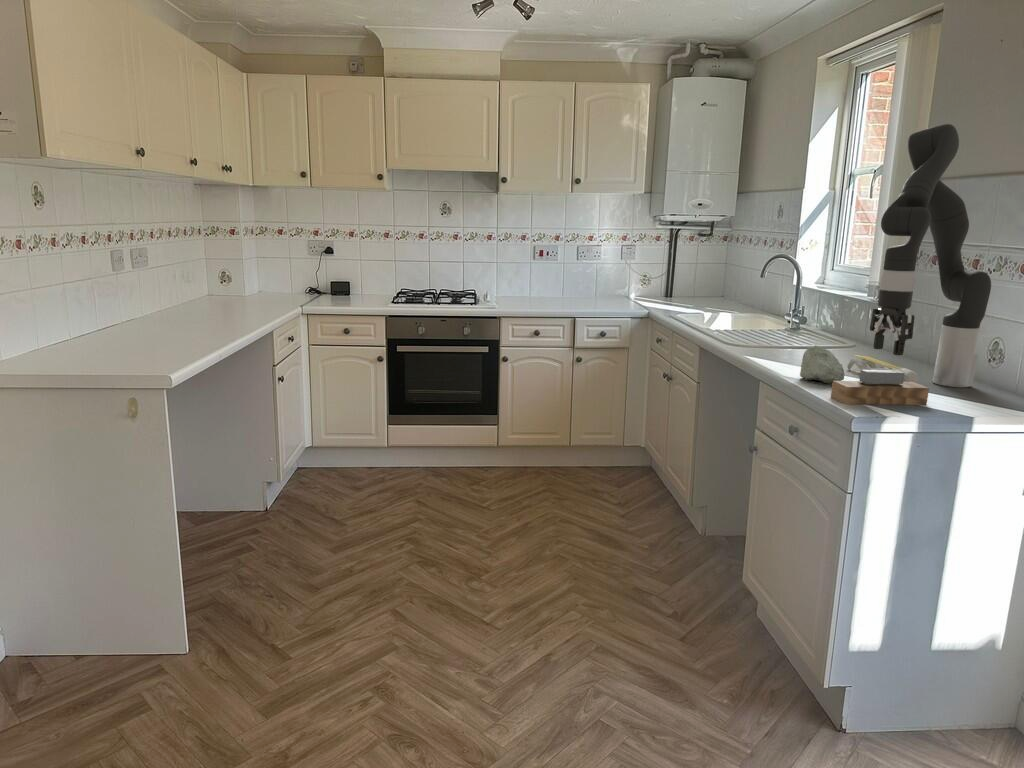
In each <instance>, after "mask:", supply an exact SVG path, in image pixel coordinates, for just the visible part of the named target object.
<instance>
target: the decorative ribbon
mask: <svg viewBox="0 0 1024 768" xmlns="http://www.w3.org/2000/svg"><path fill="white" fill-rule="evenodd" d="M855 356H857V357H860V358H861V361H859V360H857V359H855V358H854V357H853V358H850V361H849V362H848V364H847V366H846V367H847V370H849V371H851V369H852V368H853V366H854V365H856V366H857V368H858V369H860V371H858V370H856V372H857V373H859V374H860V373H861V370H898V371H901V372H904V373H905V374H904V380H903V382H914V383H917V384H918V381H919V377H918V374H917V372H915V371H913V370H910V369H908V368H906V367H898V366H896V365H893V364H890V363H888V362H884V361H881V360H878V359H875V358H873V357H870V356H866V355H863V356H862V355H858V354H857V355H856V354H855ZM877 364H880V365H883V366H879V367H878V365H877ZM884 366H885V367H884Z"/></svg>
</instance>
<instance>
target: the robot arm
mask: <svg viewBox="0 0 1024 768" xmlns="http://www.w3.org/2000/svg"><path fill="white" fill-rule="evenodd" d="M959 146H960V138H959V134H958V130H957V128H956V127H955V126H954V124H950V123H944V124H941V125H939V124H938V125H936V126H932V127H929V128H925V129H921V130H918V131H917V130H916V131H915V132H912V133H910V135H909V137H908V139H907V152H908V156H909V159H910V160H909V161H910V162H911V166H912V168H913V172H912V173H911V174H910V175H909V176H908V178H907V179H906V180H905V182H904V184H903V185H902V189H901V190H900V193H899V195H898V197H897V198H896V199H895V200H894V201H893V202H891V204H890V205H889V206H888V208H887V209H886V210H885V211H884V213H883V215H882V217H881V220H880V228H881V230H882V232H883V233H884V234H885V235H887V236H891V237H910V238H909V240H908V241H907V242H906V243H904V244H899V245H893V246H889V247H888V248H887V249H886V251H885V255H884V262H883V269H882V274H881V278H880V281H879V282H880V283H879V291H878V297H877V299H878V300H877V306H878V308H877V307H876V308H873V309H872V313H871V319H870V320H871V321H870V325H869V330H870V332H872V333H873V335H874V339H873V349H874V350H883V349H884V343H885V334H886V332H887V330H890V332H891V333H893V335H894V339H895V340H894V345H893V351H892V352H893V353H892V354H893V355H894V356H903V355H904V352H905V351H904V350H905V345H906V341H908V340H913V335H914V325H915V315H914V314H907V312H906V311H907V310H908V309H910V308H911V307H912V302H913V295H914V289H915V288H914V287H915V281H916V279H915V278H916V277H915V275H916V273H915V272H916V265H917V258H918V253H919V250H920V247H921V245H922V242H923V240H924V237H925V236H926V233H927V232H928V229H930V230H929V231H930V233H931V236H932V240H933V244H934V248H935V253H936V259H937V265H938V273H939V281H940V287H941V291H942V294H943V295H944V297H945V298H946V299H947V300H949V301H953V302H958V303H959V307H958V309H957V310H956V311H954V312H952V313H948V314H945V315H944V316H943V319H942V322H941V323H942V325H941V330H940V335H939V336H940V337H939V342H938V348H937V352H936V353H937V354H936V359H935V365H934V371H933V377H932V382H933V383H934V384H936V385H939V386H945V387H951V388H968V387H973V384H974V380H975V379H974V378H975V374H976V369H977V368H976V367H977V363H978V355H979V354H978V353H976V351H977V350H976V348H977V343H978V338H979V332H980V327H981V323H982V321H983V320H984V318H985V315H986V311H987V306H988V304H989V299H990V295H991V289H992V279H991V276H990V275H989V274H988V273H987V272H986V271H982V270H972V269H966V268H965V266H964V263H963V259H962V247H963V244H964V242H965V239H966V238H967V235H968V232H969V229H970V222H969V217H968V212H967V208H966V204H965V201H964V200H963V199H962V198H961V196H959V194H957V193H956V192H955V191H954V190H952V188H950V187H949V186H948V185H946V184H945V183H944V182H943V181H941V178H942V176H943V175H944V173H945V172H946V170H947V169H948V167H949V166H950V165H951V163H952V161H953V160H954V159H955V157H956V155H957V153H958V150H959ZM879 307H880V308H879ZM907 330H908V331H907Z"/></svg>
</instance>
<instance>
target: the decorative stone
mask: <svg viewBox="0 0 1024 768" xmlns="http://www.w3.org/2000/svg"><path fill="white" fill-rule="evenodd" d="M845 374H846V373H845V369H844V367H843V365H842V363H840V361H839V359H838V358H837V357H836V355H835V354H834V353H833V352H831V351H830V350H829V349H827V348H825V347H823V346H821V345H817V344H815V345H813V346H809V347H807V349H806V350H805V351H804V353H803V354H802V360H801V366H800V372H799V376H800V378H802V379H804V380H806V381H814V380H815V381H819V382H821V383H823V384H828V385H832V384H833V381H845Z"/></svg>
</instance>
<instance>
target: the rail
mask: <svg viewBox="0 0 1024 768" xmlns="http://www.w3.org/2000/svg"><path fill="white" fill-rule="evenodd" d="M831 385H832V387H831V393H830V398H832V399H833V400H836V401H838V402H840V403H842V404H844V405H890V406H891V405H895V406H897V405H898V406H899V405H901V406H903V405H905V406H909V405H910V406H927V405H928V404H927V403H928V397H929V392H930V387H927V386H925V385H922V384H919V383H918V382H917V383H914V382H906V381H905V382H903V384H900V386H890V385H888V384H874V386H865V385H862V382H861V381H859V380H842V381H833V384H831Z"/></svg>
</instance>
